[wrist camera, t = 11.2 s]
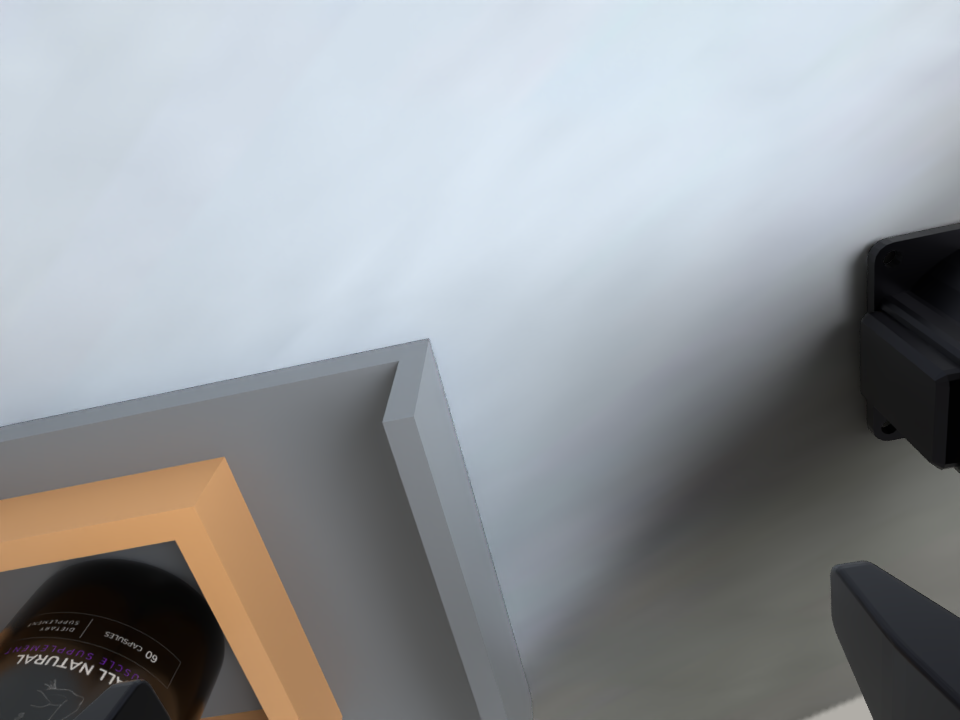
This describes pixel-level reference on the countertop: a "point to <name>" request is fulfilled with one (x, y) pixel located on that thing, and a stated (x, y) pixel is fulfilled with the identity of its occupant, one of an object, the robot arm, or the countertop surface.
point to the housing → (286, 534)
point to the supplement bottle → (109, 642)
